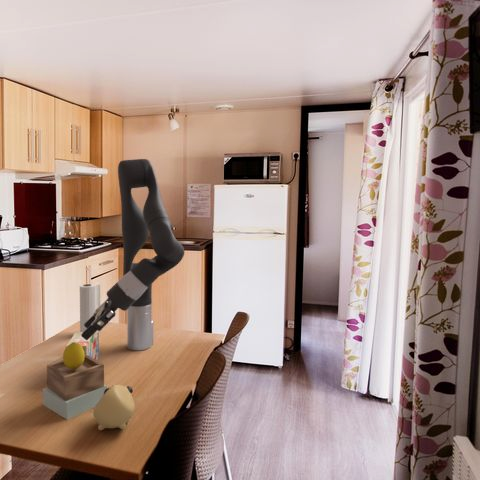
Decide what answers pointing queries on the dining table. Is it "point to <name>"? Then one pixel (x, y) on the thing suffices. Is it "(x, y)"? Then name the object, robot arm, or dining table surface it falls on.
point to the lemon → (73, 356)
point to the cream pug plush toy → (115, 407)
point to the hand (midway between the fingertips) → (85, 332)
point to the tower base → (72, 402)
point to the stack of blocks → (87, 344)
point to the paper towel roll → (88, 303)
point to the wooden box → (75, 378)
